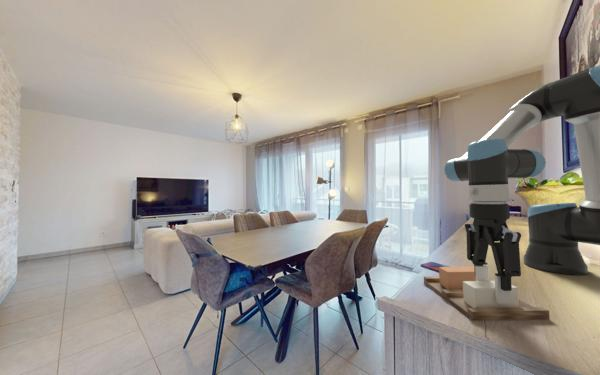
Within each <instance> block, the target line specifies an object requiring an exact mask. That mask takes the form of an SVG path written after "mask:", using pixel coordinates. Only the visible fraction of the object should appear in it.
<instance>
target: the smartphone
mask: <svg viewBox="0 0 600 375" xmlns="http://www.w3.org/2000/svg"><path fill="white" fill-rule="evenodd" d="M420 267H421V268H425V269H427V270H431V271H434V272H437V273H439V267H450V266H448V265H445V264H443V263H442V264H441V263H437V262H435V261H429V262H425V263H421V264H420Z"/></svg>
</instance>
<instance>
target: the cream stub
mask: <svg viewBox="0 0 600 375" xmlns="http://www.w3.org/2000/svg"><path fill="white" fill-rule="evenodd" d="M511 285H512V286H511V287H512V289H511V291H510V304H498V303H496V297H495V280H489V281H463V301H464V302H466V303H467V304H469V305H470V306H471V307H473V308H504V307H518V299H519V291H518V287H517V286H515V285H513V284H511Z"/></svg>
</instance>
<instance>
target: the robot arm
mask: <svg viewBox="0 0 600 375" xmlns="http://www.w3.org/2000/svg"><path fill="white" fill-rule="evenodd" d="M563 116H564V121H565V122H567V123H570V124H572V125H573V129H574V134H575V136H574V137H575V142H576V146H577V153H578V154H577V155H578V159H579V160H578V161H579V166H580V171H581V177H582V185H583V192H584V195H585V196H584V198H585V199H583V200H582V201H580V202H579V203H578V205H577V204H576V202H563V203H548V204H545V203H544V204H532V205H530V206H529V207H528V210H527V217H526V218H527V219H528V220H527V223H528V225H527V226H528V246H527V248H526V250H525V254H524V255H523V264H525V265H526V266H527V267H528V266H529V267H531V268H534V269H537V270H541V271H545V272H550V273H557V274H563V275H575V276H576V275H582V276H583V275H586V274H587V275H588V273H589V269H588V268H589V267H588V264H587V263H586V262H585V260H584V257H583V255H582V253H581V251H580V250H579V243H581V244H582V243H583V244H589V245H594V246H595V245H596V246H600V64H598V65H596V66H595V65H594V66H592V67H591V66H590V68H587V69H584V70H581V71H579V72H576V73H574V74H571V75H568V76H565V77H563V78H560V79H557V80H554V81H552V82H548V83H546V84H544V85H541V86H539V87H538V88H536V89H534V90H532V91H531V92H529V93H528V94H527V95H525V96H524V97H522V98H520V100H518V101H517V102H516V103H514V104H513V105H512V106H511V107H510V108H509V109H507V111H506V112H505V115H504V117H503V118H502V119H501V120H500V121H499V122H498V123H497V124H496V125H494V127H492V129H491V130H489V131H488V132H487V133H486V134H485V135H484V136H483V137H482V138H481V139H479V140H477V141H473V142H471V143H469V144H468V146H467V151H466V152H465V153H464V154H463V155H462V156H461V157H455V158H453V159H450V160H448V161H447V162H446V163H445V165H444V168H443V170H444V175H445V176H446V178H447V179H448V180H450V181H452V182H468V195H469V198H468V200H469V201H470V204H469V205H468V208H469V217H470V218H472V219H473V222H472V223H465V224H464V228H465V232H466V233H465V234H466V259H467V260H468V261H471V262H472V264H473V267H474V270H475V271H474V272H475V276H476V281H490V280H489V278H490V277H489V266H487V265H488V262H487V256H488V250H489V246H490V248H491V252H492V255H493V259H494V264H495V267H496V271H497V273H496V272H495V273H494V281H495V297H496V303H498V304H510V291H511V289H512V287H511V286H512V285H513V284H512V278H513V277H516V278H517V277H521V276H522V271H521V269H522V268H521V267H522V266H521V255H520V254H521V253H520V241H521V238H522V233H521V232H519V231H515V232H514V231H513V230H510V229H509V227H508V225H507V220H508V219H510V217H511V216H510V215H511V214H510V205H509V204H508V203H507V202H509V201H510V191H509V190H510V189H509V180H511V179H521V180H522V179H529V178H533V177H536V176H538V175H539V174H541V173H542V172H543V170H545V167H546V162H547V161H546V158H545V156H544V155H543V154H542V153H540V152H539V151H537V150H533V149H529V148H521V149H520V148H519V149H515V148H514V149H512V148H509V147H511V146H512V144H514V143H515V142H516V141H517V140H518V139H519V138H520V137H521V136H523V134H524V133H525V132H526V131H527V130H529V129H532V128H534V127H536V126H537V125H539V123H542V122H544V121H547V120H550V119H555V118H557V117H558V118H559V117H563Z"/></svg>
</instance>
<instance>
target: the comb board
mask: <svg viewBox="0 0 600 375" xmlns="http://www.w3.org/2000/svg"><path fill="white" fill-rule="evenodd" d="M423 283H424V284H425V285H426V286H427V285H428V286H427V287H429V288H430V289H431V290H432V289H433V290H432V291H434V292H435V293H436V294H437V295H439V296H440V297H441V296H442V297H441V298H442V299H444V300H445V301H446V302H448V303H449V304H450V305H452V306H453V307H454V308H456V309H457V310H458V311H460V312H461V313H462V314H464V316H466V317H467V318H469V319H470V320H471V321H473V322H474V321H476V322H478V321H530V320H532V321H533V320H534V321H537V320H539V321H540V320H543V321H544V320H550V319H551V318H550V310H549V309H547V308H545V307H543V306H533V305H531V304H529V303H527V302H525V301H523V300H521V299H519V298H518V307H504V308H473V307H471V306H470V305H469V304H467V303H466V302H464V301H463V289H447V288H445V287H444V286H442V285H441V284H440V279H439V275H438V276H433V275H432V276H423Z"/></svg>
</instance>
